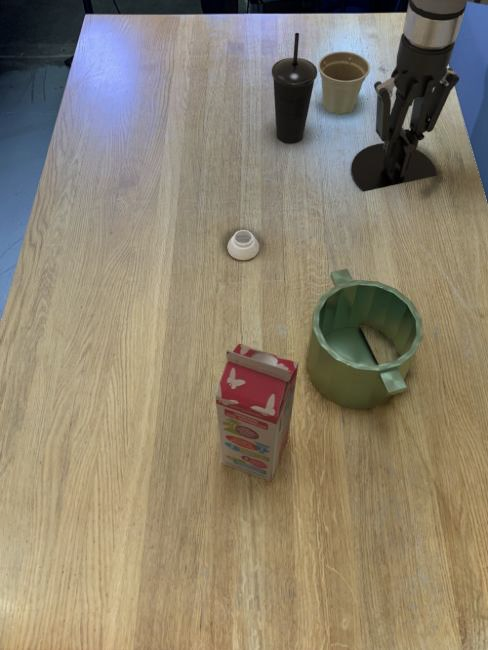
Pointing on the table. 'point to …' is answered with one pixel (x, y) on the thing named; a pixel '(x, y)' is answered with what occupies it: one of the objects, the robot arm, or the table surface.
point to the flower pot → (342, 80)
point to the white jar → (243, 245)
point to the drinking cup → (292, 95)
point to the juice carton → (255, 409)
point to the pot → (360, 342)
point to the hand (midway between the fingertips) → (394, 166)
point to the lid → (375, 175)
